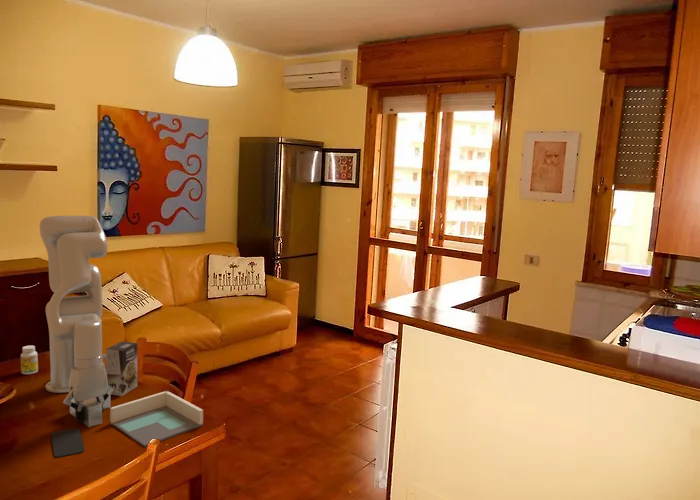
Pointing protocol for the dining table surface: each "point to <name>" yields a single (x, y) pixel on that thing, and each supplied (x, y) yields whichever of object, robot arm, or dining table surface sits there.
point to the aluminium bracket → (92, 410)
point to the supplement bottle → (29, 360)
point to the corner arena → (156, 417)
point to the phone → (67, 442)
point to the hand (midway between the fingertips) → (89, 418)
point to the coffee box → (122, 367)
